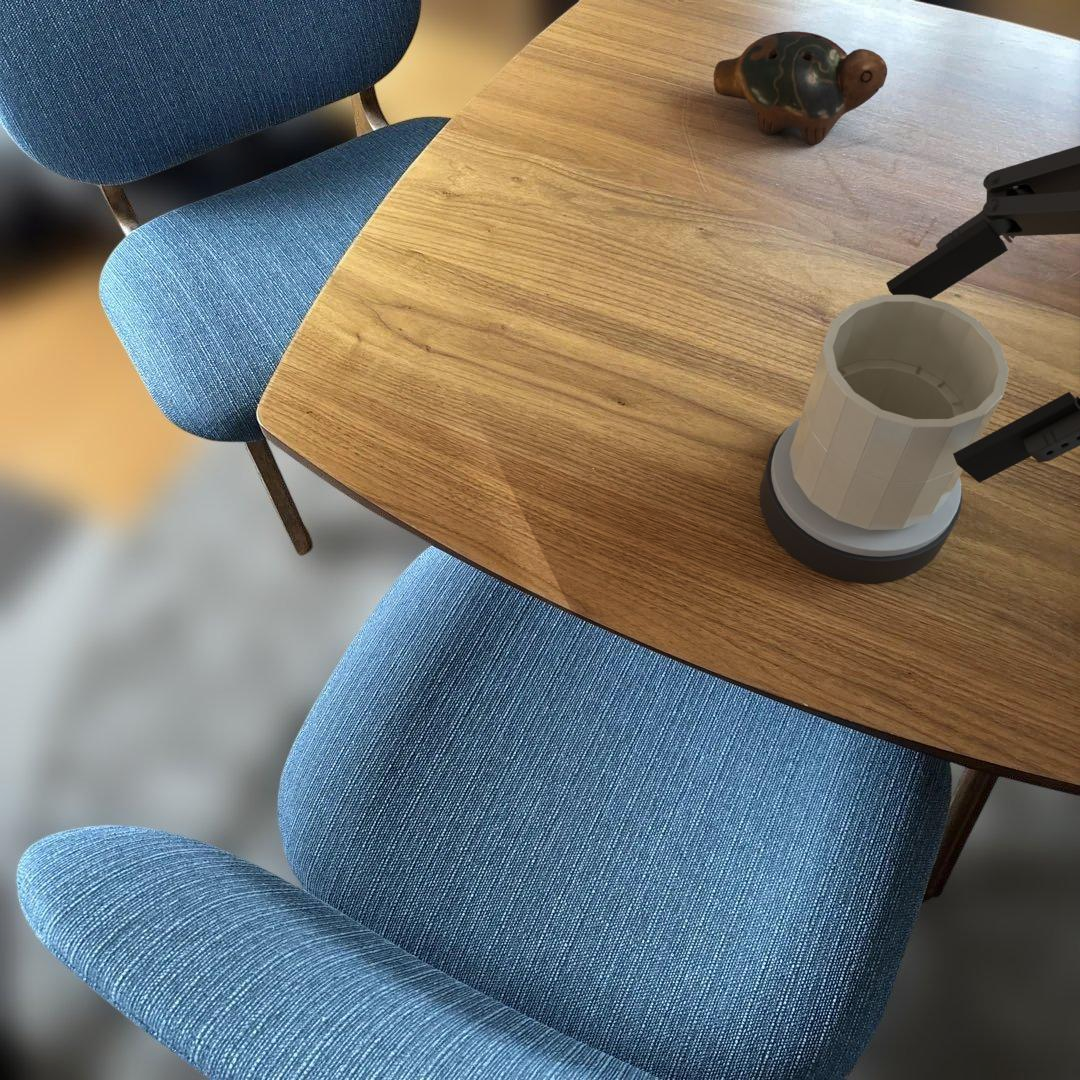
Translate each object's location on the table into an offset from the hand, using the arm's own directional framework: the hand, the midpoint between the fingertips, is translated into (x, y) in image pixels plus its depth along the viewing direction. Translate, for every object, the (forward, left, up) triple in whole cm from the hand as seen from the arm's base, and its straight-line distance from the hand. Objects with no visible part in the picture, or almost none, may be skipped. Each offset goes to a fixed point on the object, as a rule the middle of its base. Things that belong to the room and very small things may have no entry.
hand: (929, 378), depth 61 cm
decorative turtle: (+40, -17, -13) cm, 46 cm away
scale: (+1, +1, -13) cm, 13 cm away
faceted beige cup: (+1, +1, -9) cm, 9 cm away
